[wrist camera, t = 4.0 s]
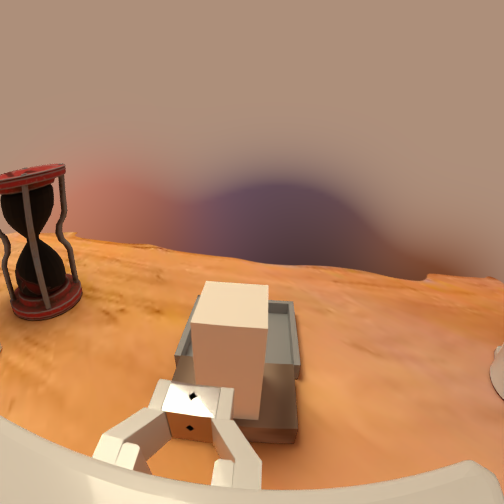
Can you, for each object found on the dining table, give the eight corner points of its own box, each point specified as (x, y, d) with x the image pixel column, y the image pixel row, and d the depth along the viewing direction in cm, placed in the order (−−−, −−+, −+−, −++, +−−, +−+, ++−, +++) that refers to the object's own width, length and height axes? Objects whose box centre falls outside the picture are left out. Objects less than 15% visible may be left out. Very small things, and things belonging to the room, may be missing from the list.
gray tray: (291, 313, 51) (293, 301, 50) (297, 378, 37) (300, 365, 36) (198, 307, 52) (198, 294, 51) (176, 368, 37) (174, 355, 37)
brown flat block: (290, 380, 37) (293, 364, 36) (293, 443, 27) (298, 428, 26) (183, 371, 37) (180, 355, 36) (164, 430, 28) (159, 415, 27)
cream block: (260, 374, 34) (268, 285, 29) (258, 420, 27) (267, 328, 23) (209, 369, 34) (206, 280, 29) (199, 414, 27) (190, 322, 23)
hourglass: (74, 273, 60) (60, 161, 50) (91, 306, 49) (71, 165, 39) (12, 290, 49) (-10, 175, 40) (13, 329, 39) (-22, 185, 29)
